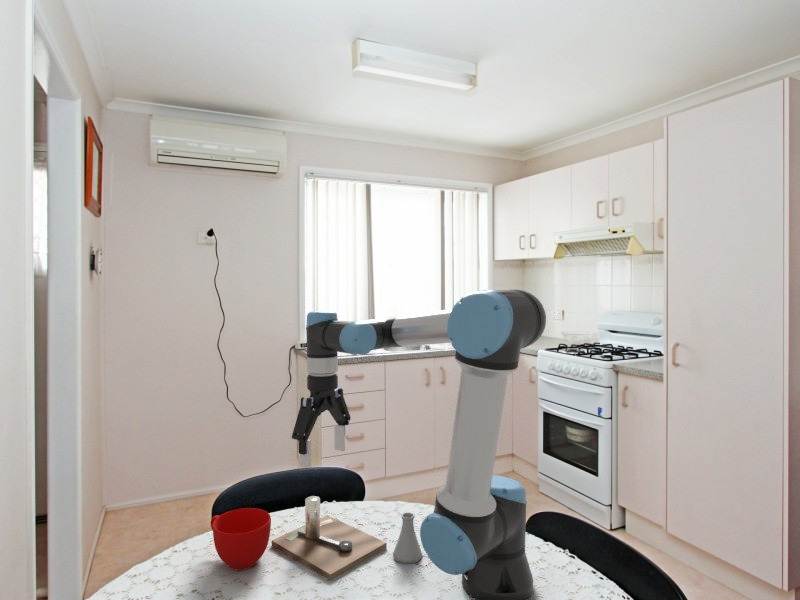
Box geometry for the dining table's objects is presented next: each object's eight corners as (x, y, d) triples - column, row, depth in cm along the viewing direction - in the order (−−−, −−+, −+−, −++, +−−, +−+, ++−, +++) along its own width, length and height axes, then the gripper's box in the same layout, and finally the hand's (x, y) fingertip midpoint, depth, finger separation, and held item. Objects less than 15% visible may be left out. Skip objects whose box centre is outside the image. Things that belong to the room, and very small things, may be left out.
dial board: (386, 548, 127) (386, 542, 127) (330, 581, 114) (330, 573, 114) (327, 520, 142) (327, 514, 142) (271, 546, 128) (271, 539, 128)
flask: (420, 566, 120) (420, 523, 119) (389, 562, 121) (389, 520, 121) (425, 550, 127) (425, 509, 126) (396, 546, 128) (396, 507, 128)
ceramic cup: (233, 538, 132) (233, 499, 132) (282, 557, 123) (282, 515, 123) (189, 562, 121) (188, 520, 120) (240, 584, 112) (240, 539, 112)
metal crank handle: (355, 547, 124) (355, 507, 124) (346, 554, 121) (346, 513, 121) (303, 530, 133) (303, 492, 132) (294, 536, 129) (293, 497, 129)
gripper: (340, 364, 141) (341, 441, 142) (275, 380, 120) (276, 471, 121) (363, 367, 137) (363, 446, 138) (300, 383, 116) (301, 477, 117)
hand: (323, 458), depth 129 cm, fingers open, 13 cm apart
